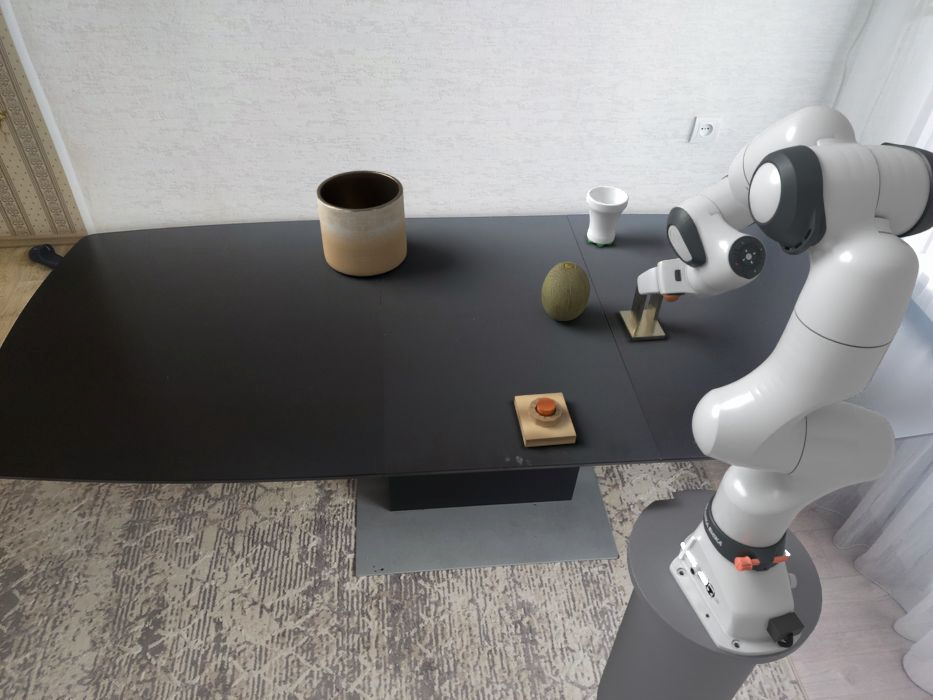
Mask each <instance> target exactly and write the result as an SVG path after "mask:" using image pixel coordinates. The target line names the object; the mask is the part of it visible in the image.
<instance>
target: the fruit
mask: <svg viewBox="0 0 933 700" xmlns="http://www.w3.org/2000/svg"><path fill="white" fill-rule="evenodd" d="M590 295H591V283H590V279H589V276H588V274H587V272H586V271H585V270H584V268H583V267H582V266H581V265H579V264H578V263H575V262H573V261H562V262H559V263H557V264H556V265H554V266H553V267H552V268H551V269H550V271H548V273H547V275H546V276H545V279H544V281H543V283H542V286H541V303H542V307H543V309H544V312H546V314H547V315H548V316H549V317H551V318H552V319H554V320H555V321H558V322H569V321H572V320H575V319H576V318H578V317H579V316H580V315H581V314H582V313H583V312H584V310H585V309H586V307H587V305H588V303H589V299H590Z"/></svg>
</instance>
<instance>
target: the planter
mask: <svg viewBox="0 0 933 700" xmlns="http://www.w3.org/2000/svg"><path fill="white" fill-rule="evenodd" d="M404 196H405V195H404V187H403V184H402V183H401V181H400V180H399V179H398V178H397V177H394V176H393V175H391V174H388V173H385V172H381V171H377V170H364V169H362V170H361V169H360V170H350V171H344V172H340V173H337V174H334V175H332V176H330V177H328V178H326V179H324V180H323V181H321V183H320V184H319V185H318V187H317V188H316V199H317V200H316V202H317V209H318V216H319V225H320V232H321V239H322V240H321V241H322V248H323V254H324V258H325V261H326V263H327V264H328V265H329V267H331V268H332V269H333V270H335V271H336V272H339V273H342V274H344V275H347V276H353V277H374V276H379V275H383V274H385V273H388V272H390V271H392V270H394V269H396V268H397V267H399V266H400V265H401V264H402V263H403V261H405V258H406V257H407V253H408V243H407V227H406V214H405V200H404V199H405V197H404Z"/></svg>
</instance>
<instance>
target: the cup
mask: <svg viewBox="0 0 933 700" xmlns="http://www.w3.org/2000/svg"><path fill="white" fill-rule="evenodd" d="M629 199H630V197H629V195H628V194H627V192H626V191H624V190H623V189H621V188H619V187H615V186H610V185H598V186H594V187H592V188H590V189H589V190H588V191H587V192H586V199H585V202H586V205H587V207H588V213H589V226H588V229H587V234H586V236H587V242H588V243H589V244H596V245H597V247H599V248H601V247H604V246H605V245H609V246H611V245H612V244H613V242H614V241H615V238H616V228H617V224H618V221H619V219H620V217H621V216H622V214H623V212H624V211H625V210H626V208H627V207H628V203H629Z"/></svg>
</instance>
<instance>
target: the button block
mask: <svg viewBox="0 0 933 700" xmlns="http://www.w3.org/2000/svg"><path fill="white" fill-rule="evenodd" d="M542 398H549V399H551V400H553V401H554V402H555V411H554V414H553V415H552V416H549V417H544V416H541V415H539V414H538V413H537V402H538V401H539V400H540V399H542ZM514 407H515V411H516V415H517V420H518V424H519V428H520V432H521V435H522V439H523V443H524V447H525V448H530V447H542V446H554V445H565V444H575V443H576V439H577V434H576V430H575V427H574V424H573V422H572V418H571V415H570V413H569V409H568V406H567V404H566V400H565V397H564V394H563V392H550V393H540V394H539V393H538V394H537V393H536V394H525V395H515V396H514Z"/></svg>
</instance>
